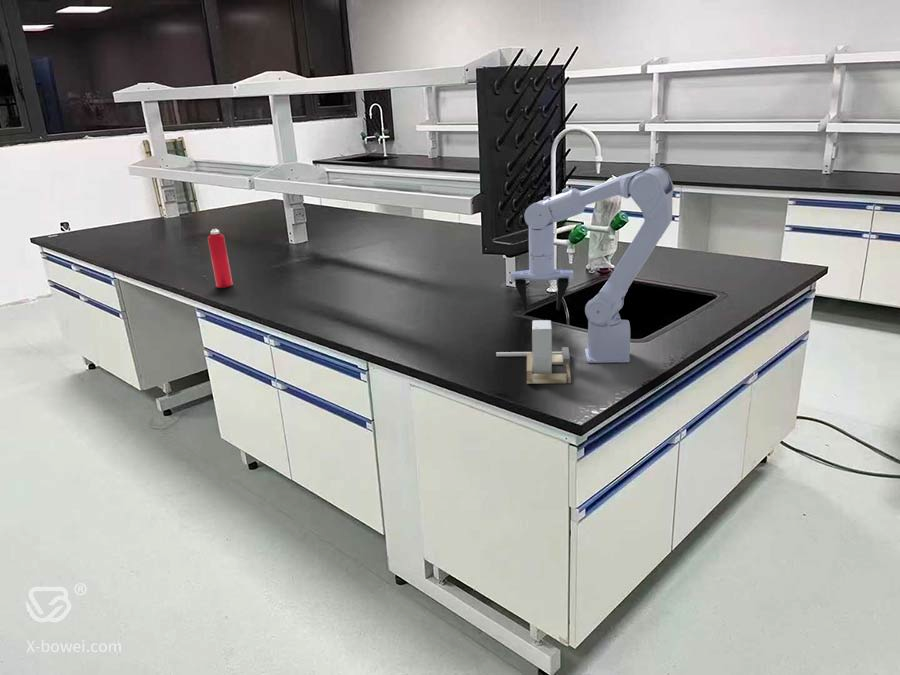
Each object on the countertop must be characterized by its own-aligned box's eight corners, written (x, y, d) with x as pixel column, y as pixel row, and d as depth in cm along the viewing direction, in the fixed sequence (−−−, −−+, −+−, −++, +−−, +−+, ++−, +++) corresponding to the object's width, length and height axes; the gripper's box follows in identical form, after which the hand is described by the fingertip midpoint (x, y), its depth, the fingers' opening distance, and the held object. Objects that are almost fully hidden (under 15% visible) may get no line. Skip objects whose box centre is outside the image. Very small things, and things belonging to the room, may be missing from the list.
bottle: (227, 287, 232) (217, 230, 225) (213, 287, 233) (202, 230, 226) (235, 283, 237) (225, 227, 230) (221, 283, 238) (211, 227, 231)
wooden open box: (567, 356, 158) (567, 333, 156) (570, 383, 144) (570, 359, 142) (527, 356, 159) (526, 334, 157) (526, 383, 145) (526, 359, 143)
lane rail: (568, 354, 159) (568, 346, 159) (569, 366, 153) (569, 358, 152) (496, 355, 161) (496, 347, 161) (494, 367, 155) (494, 359, 154)
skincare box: (552, 381, 146) (552, 329, 142) (532, 381, 147) (531, 329, 142) (551, 369, 152) (551, 319, 148) (532, 369, 152) (531, 319, 148)
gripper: (572, 248, 159) (571, 303, 164) (510, 250, 161) (511, 304, 165) (574, 255, 152) (573, 312, 157) (509, 257, 154) (511, 314, 159)
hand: (541, 309), depth 161 cm, fingers open, 7 cm apart
